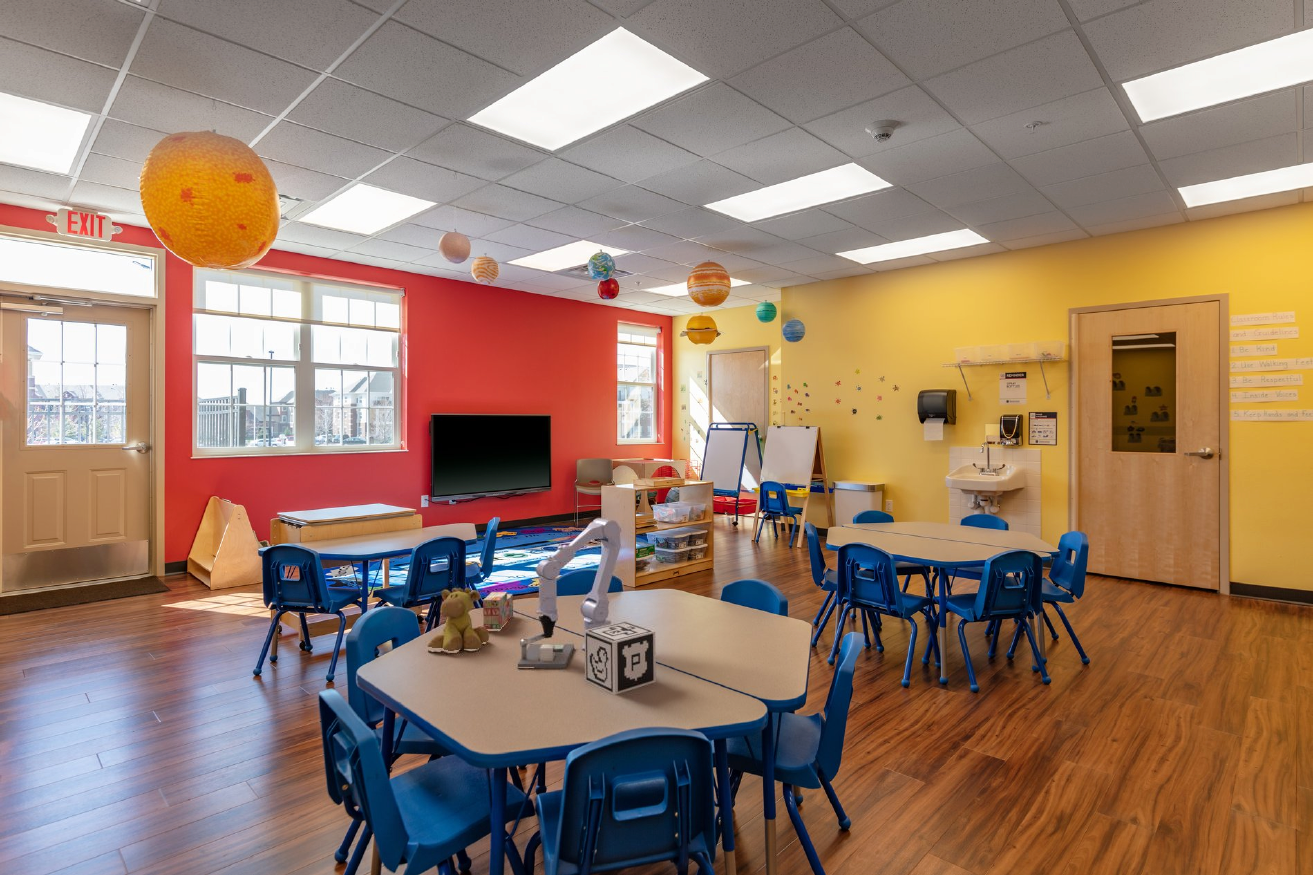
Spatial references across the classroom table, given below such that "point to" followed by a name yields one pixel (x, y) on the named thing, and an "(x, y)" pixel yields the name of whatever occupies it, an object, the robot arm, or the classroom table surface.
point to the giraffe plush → (459, 622)
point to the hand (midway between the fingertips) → (548, 637)
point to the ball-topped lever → (532, 639)
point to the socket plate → (533, 660)
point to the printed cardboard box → (497, 609)
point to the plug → (548, 652)
